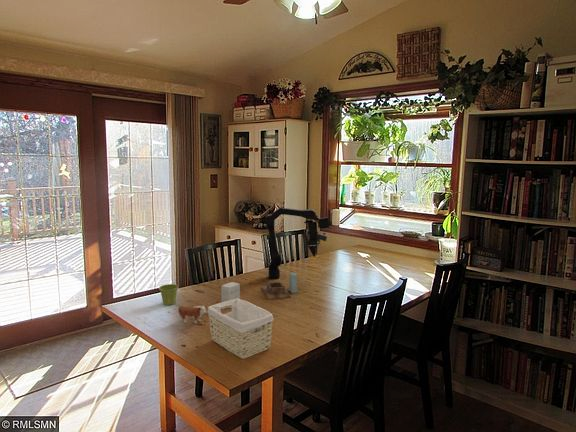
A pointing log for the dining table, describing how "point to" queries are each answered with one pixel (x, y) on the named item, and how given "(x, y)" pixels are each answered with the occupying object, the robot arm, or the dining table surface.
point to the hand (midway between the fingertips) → (315, 255)
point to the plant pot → (168, 293)
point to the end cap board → (275, 290)
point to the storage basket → (241, 327)
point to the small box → (230, 291)
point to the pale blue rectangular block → (293, 283)
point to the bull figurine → (192, 312)
